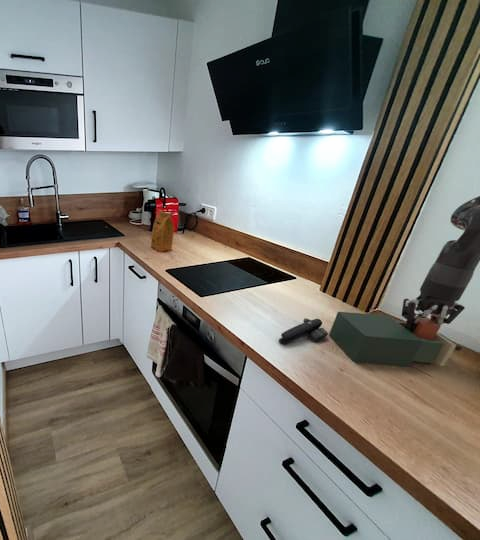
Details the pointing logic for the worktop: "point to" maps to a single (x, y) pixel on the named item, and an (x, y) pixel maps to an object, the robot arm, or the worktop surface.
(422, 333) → the block
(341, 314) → the cabinet
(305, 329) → the can opener
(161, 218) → the coffee package
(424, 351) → the drawer
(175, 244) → the worktop surface
